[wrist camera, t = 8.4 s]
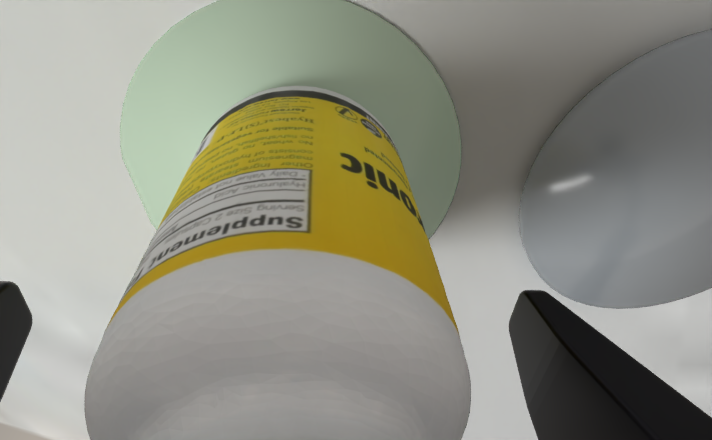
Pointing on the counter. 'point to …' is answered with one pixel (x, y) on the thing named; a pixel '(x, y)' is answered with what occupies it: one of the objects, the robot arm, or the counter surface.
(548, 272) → the slate coaster
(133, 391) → the supplement bottle
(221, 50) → the sage coaster
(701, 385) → the counter surface
